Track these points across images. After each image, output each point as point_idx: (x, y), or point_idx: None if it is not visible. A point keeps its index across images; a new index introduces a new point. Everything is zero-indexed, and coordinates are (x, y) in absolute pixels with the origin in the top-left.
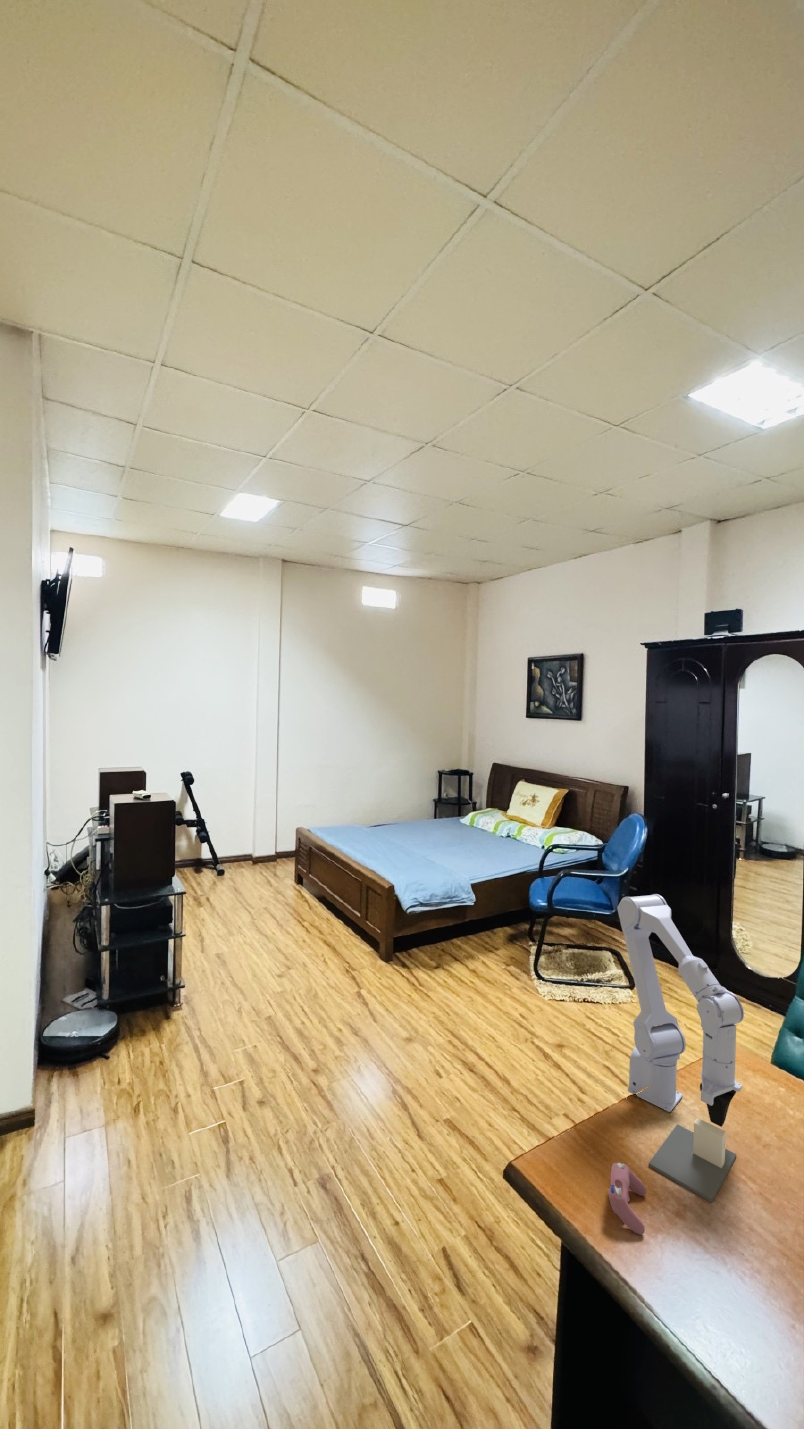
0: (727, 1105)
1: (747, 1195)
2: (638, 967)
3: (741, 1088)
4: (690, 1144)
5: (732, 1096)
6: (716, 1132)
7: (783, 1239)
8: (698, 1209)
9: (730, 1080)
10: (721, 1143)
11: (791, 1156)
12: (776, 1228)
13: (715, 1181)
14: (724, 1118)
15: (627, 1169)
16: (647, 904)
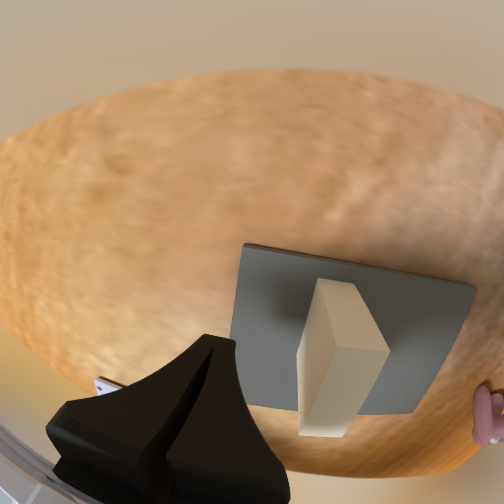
0: (236, 430)
1: (411, 200)
2: None
3: (62, 501)
4: (291, 369)
5: (176, 468)
6: (367, 374)
7: (490, 123)
8: (492, 304)
9: None
10: (378, 333)
11: (120, 96)
12: (473, 133)
13: (419, 291)
14: (223, 359)
15: (501, 430)
16: None
